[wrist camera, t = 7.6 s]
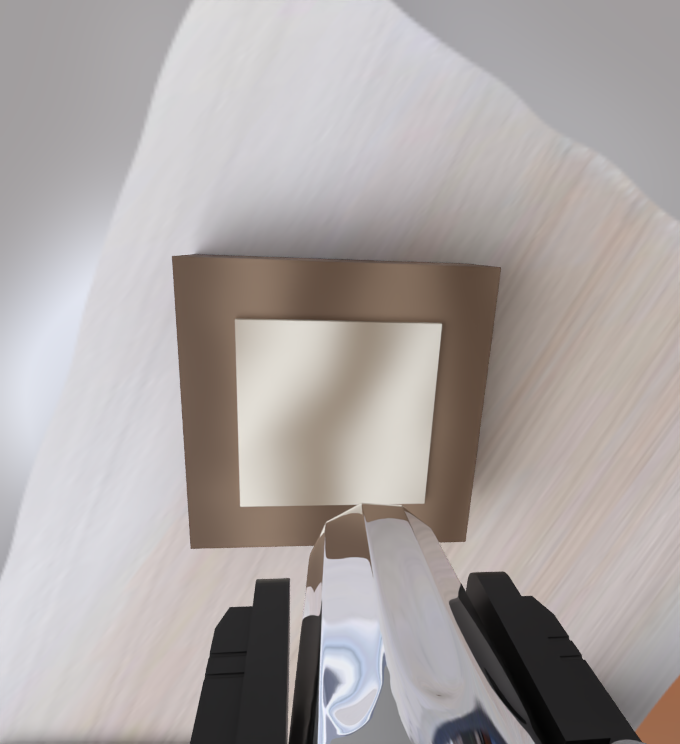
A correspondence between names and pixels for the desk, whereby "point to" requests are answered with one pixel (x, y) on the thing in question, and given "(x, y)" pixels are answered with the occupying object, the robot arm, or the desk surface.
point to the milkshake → (397, 644)
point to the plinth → (328, 392)
